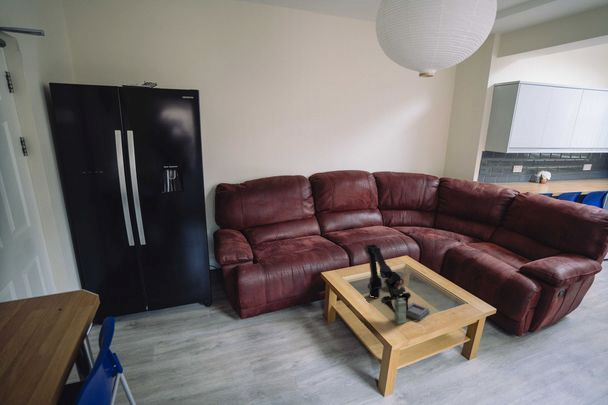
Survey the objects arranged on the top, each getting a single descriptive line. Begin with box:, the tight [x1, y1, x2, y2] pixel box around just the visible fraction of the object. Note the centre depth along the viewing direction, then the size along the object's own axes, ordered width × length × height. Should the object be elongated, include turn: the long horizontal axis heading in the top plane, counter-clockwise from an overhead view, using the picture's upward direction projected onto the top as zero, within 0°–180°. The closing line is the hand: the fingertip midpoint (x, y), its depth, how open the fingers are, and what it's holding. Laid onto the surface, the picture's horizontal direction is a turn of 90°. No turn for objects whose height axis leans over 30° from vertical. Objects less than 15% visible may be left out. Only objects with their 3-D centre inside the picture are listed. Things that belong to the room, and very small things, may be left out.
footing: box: [406, 302, 431, 322], centre depth 190 cm, size 12×12×4 cm
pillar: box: [393, 298, 407, 325], centre depth 182 cm, size 5×5×14 cm
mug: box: [395, 272, 405, 288], centre depth 228 cm, size 10×8×10 cm
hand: (401, 311), depth 181 cm, fingers open, 9 cm apart
